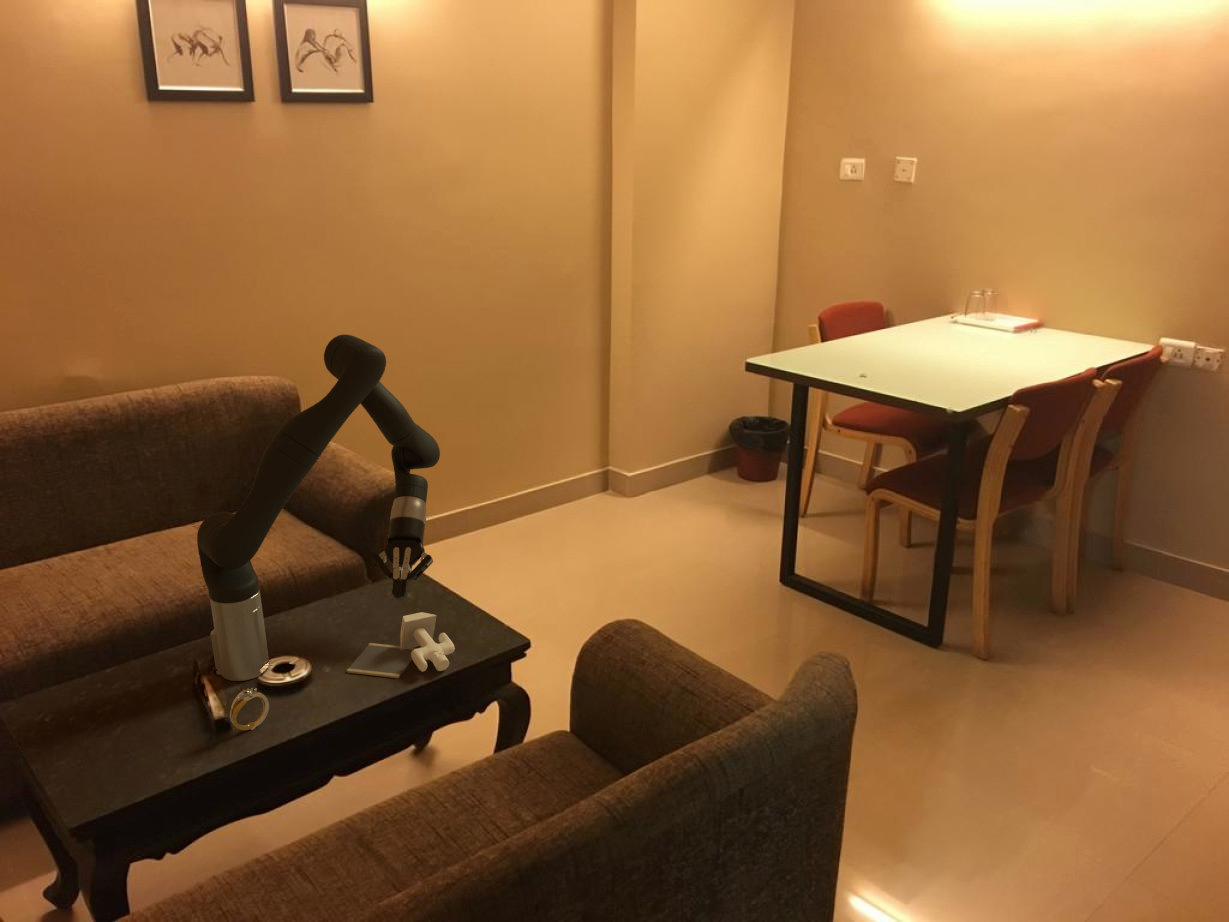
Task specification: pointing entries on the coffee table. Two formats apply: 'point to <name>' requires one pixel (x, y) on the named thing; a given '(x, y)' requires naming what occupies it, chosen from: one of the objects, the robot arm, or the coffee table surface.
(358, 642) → the coffee table surface
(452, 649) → the figurine
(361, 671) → the felt mat
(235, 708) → the ring
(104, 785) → the coffee table surface
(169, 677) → the coffee table surface
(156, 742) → the coffee table surface
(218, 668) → the robot arm
